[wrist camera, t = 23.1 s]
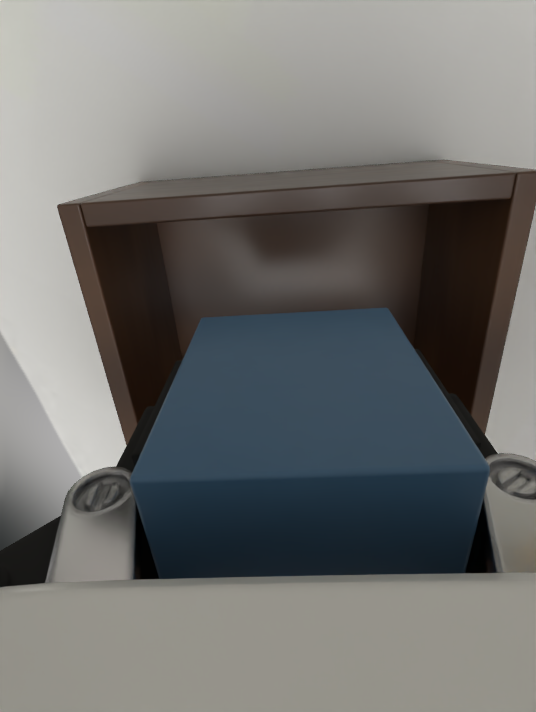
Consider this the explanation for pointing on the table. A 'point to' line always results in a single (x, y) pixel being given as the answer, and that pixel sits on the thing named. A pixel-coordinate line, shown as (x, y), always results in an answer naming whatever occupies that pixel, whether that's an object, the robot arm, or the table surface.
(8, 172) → the table surface
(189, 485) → the block
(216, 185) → the chest
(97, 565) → the robot arm
